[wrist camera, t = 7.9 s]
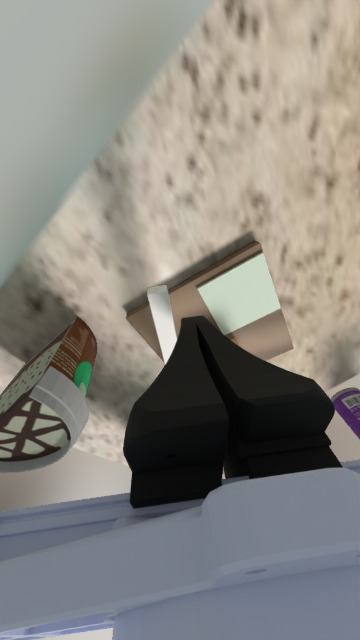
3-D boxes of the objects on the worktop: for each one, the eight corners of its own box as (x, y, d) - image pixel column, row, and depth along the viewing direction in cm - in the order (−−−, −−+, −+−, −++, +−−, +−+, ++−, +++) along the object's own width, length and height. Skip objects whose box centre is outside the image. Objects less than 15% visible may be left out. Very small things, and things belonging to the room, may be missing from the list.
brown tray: (289, 343, 25) (322, 381, 20) (190, 387, 28) (197, 430, 23) (255, 240, 18) (293, 259, 13) (127, 313, 21) (117, 352, 16)
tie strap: (172, 282, 13) (174, 290, 12) (194, 405, 20) (196, 416, 19) (141, 288, 13) (140, 296, 12) (174, 408, 20) (174, 420, 19)
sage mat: (279, 306, 21) (280, 308, 20) (222, 334, 22) (223, 335, 22) (261, 252, 18) (263, 252, 17) (196, 287, 19) (197, 289, 18)
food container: (65, 393, 26) (22, 488, 18) (18, 369, 23) (-61, 469, 15) (132, 342, 23) (117, 431, 14) (86, 307, 20) (34, 391, 12)
